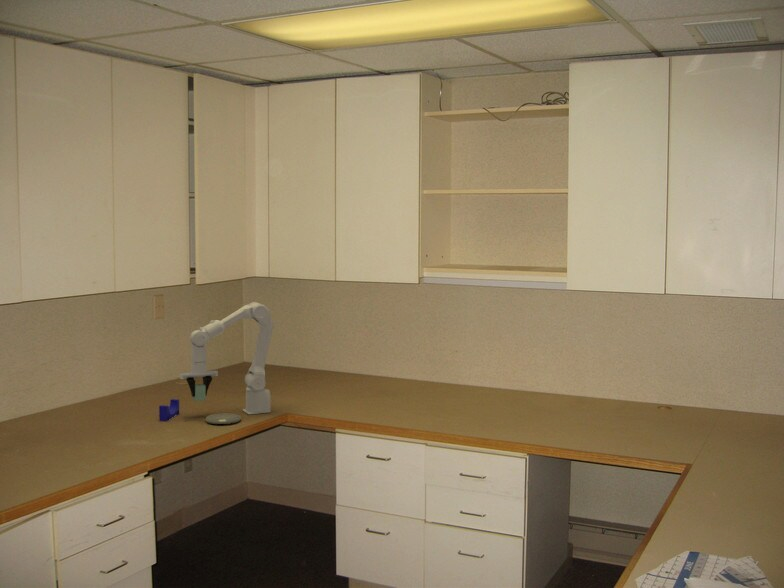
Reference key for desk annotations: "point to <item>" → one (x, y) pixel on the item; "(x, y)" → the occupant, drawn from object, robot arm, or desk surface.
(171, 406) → the cable clip
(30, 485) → the desk surface
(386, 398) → the desk surface
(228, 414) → the slate plate
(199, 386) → the pale green block
